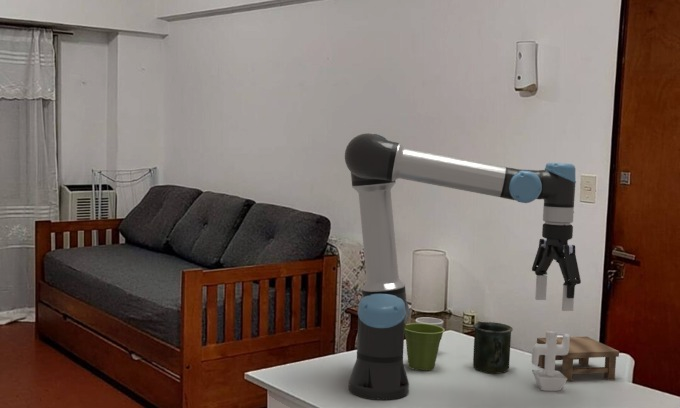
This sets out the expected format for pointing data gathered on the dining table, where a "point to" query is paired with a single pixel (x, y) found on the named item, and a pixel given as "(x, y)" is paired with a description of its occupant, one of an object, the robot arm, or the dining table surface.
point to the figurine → (550, 362)
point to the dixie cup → (430, 321)
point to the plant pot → (422, 345)
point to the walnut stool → (584, 357)
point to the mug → (492, 347)
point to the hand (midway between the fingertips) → (553, 305)
